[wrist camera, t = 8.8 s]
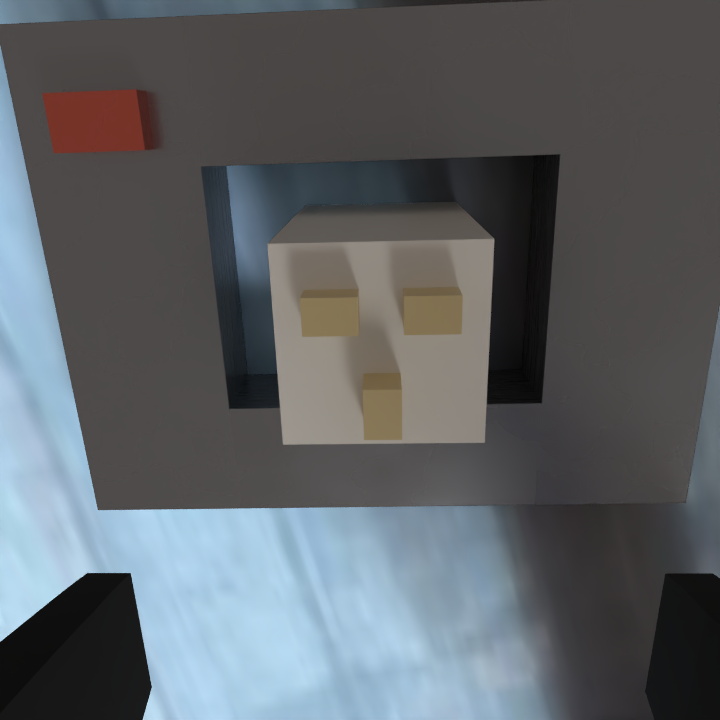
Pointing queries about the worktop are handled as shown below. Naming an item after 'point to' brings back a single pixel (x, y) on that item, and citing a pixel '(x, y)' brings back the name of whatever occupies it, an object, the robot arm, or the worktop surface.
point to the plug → (382, 323)
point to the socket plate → (371, 143)
